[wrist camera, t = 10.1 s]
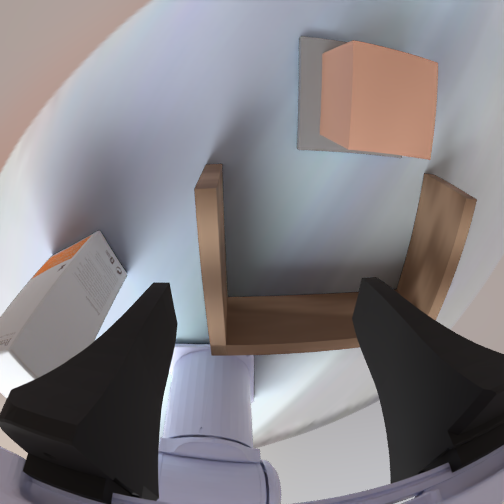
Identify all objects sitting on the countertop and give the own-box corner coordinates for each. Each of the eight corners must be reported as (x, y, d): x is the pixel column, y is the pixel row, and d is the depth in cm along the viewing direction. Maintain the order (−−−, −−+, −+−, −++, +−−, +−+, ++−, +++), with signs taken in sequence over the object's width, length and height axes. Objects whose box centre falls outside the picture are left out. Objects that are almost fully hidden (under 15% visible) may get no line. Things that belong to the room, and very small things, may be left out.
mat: (397, 156, 18) (401, 158, 17) (296, 148, 17) (298, 149, 17) (403, 56, 14) (408, 56, 14) (299, 38, 14) (300, 36, 13)
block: (386, 141, 16) (430, 159, 12) (319, 134, 16) (348, 149, 12) (391, 66, 14) (438, 62, 10) (322, 53, 14) (353, 40, 9)
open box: (403, 297, 24) (427, 336, 19) (215, 307, 23) (211, 355, 19) (434, 174, 18) (476, 199, 14) (205, 164, 18) (194, 188, 13)
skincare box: (100, 226, 19) (8, 349, 9) (129, 274, 21) (70, 409, 11) (49, 254, 20) (-32, 361, 10) (76, 295, 22) (16, 408, 12)
